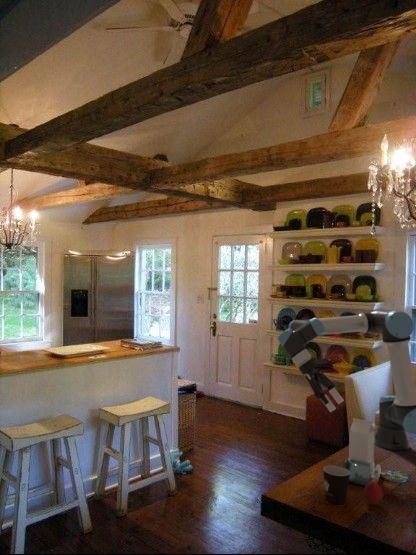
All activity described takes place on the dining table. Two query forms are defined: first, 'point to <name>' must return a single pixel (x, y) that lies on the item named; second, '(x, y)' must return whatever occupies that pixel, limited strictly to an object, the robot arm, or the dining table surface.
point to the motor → (362, 471)
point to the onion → (373, 492)
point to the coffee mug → (336, 484)
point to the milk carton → (361, 441)
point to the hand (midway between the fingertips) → (337, 406)
